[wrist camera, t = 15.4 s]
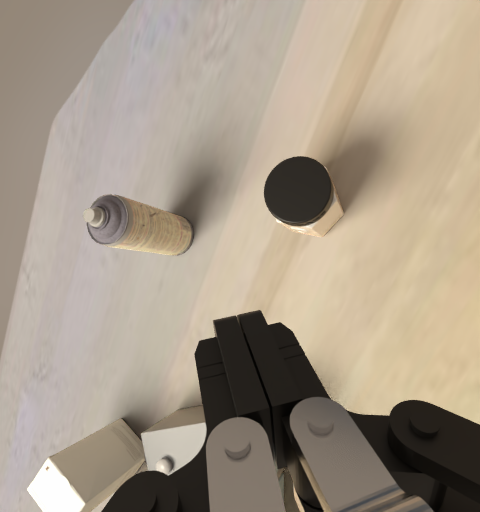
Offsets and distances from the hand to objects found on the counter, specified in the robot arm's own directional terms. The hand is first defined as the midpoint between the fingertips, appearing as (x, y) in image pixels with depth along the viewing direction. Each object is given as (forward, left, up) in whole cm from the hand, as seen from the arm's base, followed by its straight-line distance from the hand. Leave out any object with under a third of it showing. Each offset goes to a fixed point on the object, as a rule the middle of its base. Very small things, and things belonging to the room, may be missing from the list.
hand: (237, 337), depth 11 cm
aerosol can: (+29, +5, -43) cm, 52 cm away
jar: (+10, -9, -43) cm, 45 cm away
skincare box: (+19, +41, -43) cm, 63 cm away
